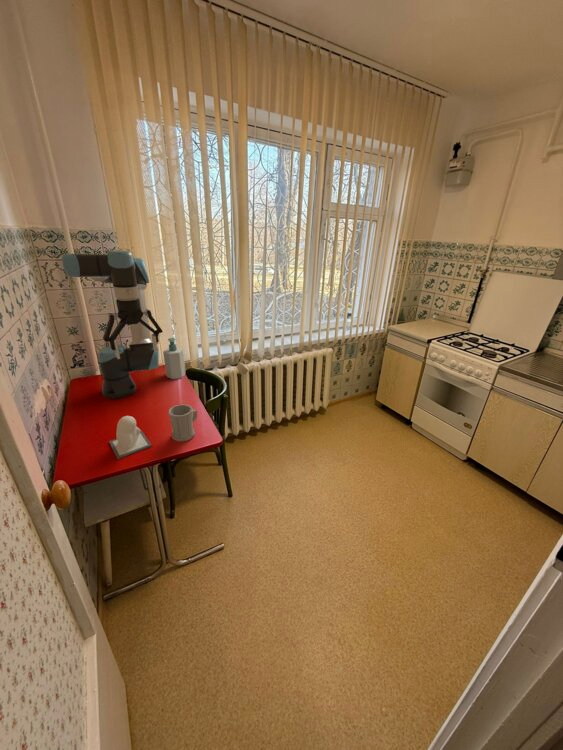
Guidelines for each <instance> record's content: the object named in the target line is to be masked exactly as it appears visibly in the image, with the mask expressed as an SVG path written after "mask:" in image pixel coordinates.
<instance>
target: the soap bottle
mask: <svg viewBox="0 0 563 750" xmlns="http://www.w3.org/2000/svg"><path fill="white" fill-rule="evenodd" d="M167 340H168V342H169V344H168V347H167V348H166V349H164V350H163V351H162V353H163V354H162V355H163V359H164V360H163V361H164V367H165V368H164V369H165V374H166V377H167V378H169V379H171V380H177V379H182V378H184V376H185V375H186V367H185V358H184V356H185V355H184V349H183V348H180V347H179V346H178V347H177V344H176V343H175V341H176V338H175V337H168V339H167Z"/></svg>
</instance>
